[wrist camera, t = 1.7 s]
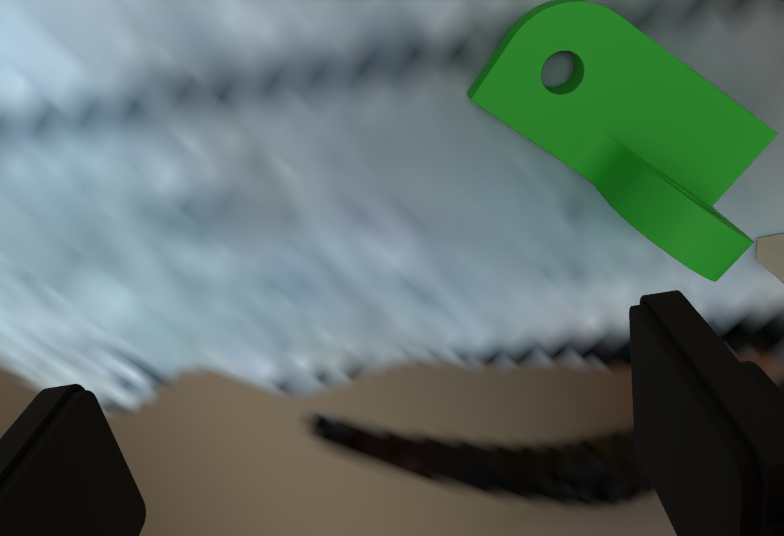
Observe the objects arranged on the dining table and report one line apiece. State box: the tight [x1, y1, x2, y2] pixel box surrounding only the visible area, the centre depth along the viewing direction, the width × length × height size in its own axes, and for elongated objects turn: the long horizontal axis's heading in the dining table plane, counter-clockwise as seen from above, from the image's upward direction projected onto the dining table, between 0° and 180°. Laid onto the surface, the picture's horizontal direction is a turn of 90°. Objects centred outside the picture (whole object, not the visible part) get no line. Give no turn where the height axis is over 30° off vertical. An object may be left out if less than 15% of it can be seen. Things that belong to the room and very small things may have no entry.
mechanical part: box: [467, 0, 778, 281], centre depth 26 cm, size 12×6×8 cm, turn 58°
